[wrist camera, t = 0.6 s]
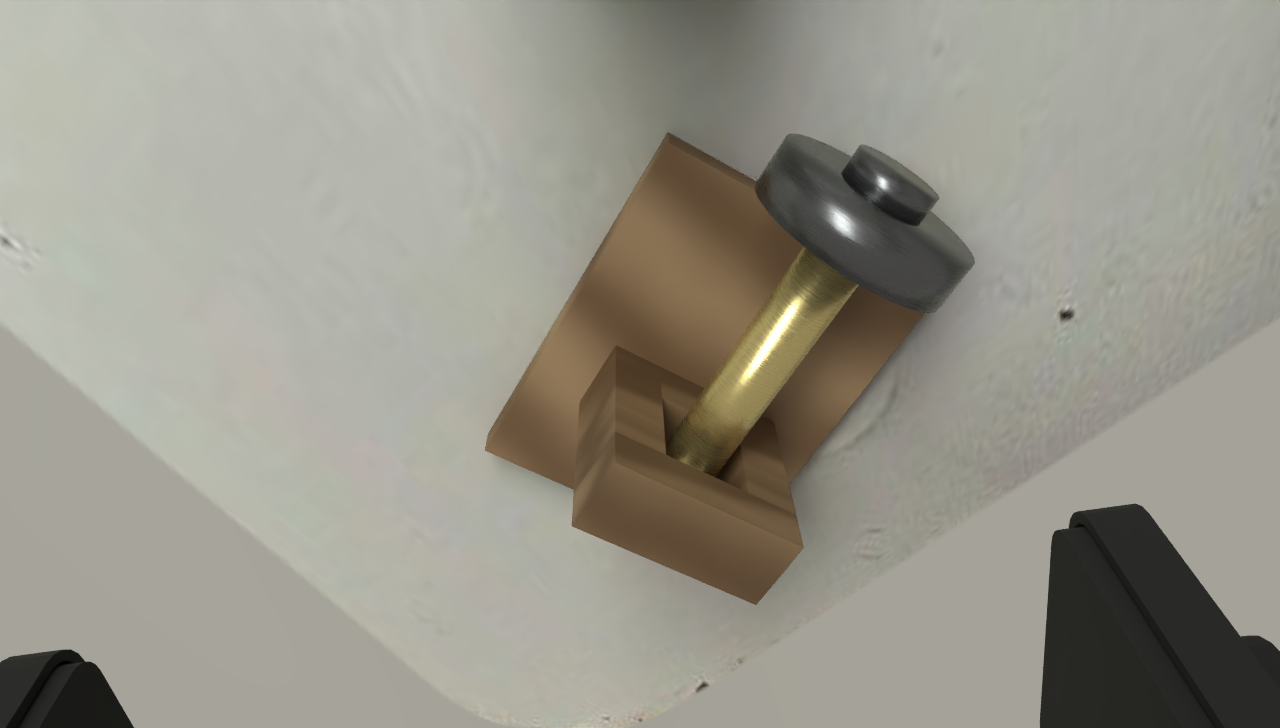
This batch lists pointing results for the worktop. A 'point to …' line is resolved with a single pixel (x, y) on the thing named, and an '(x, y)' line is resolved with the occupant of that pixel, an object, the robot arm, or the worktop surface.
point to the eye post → (686, 379)
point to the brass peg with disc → (823, 278)
